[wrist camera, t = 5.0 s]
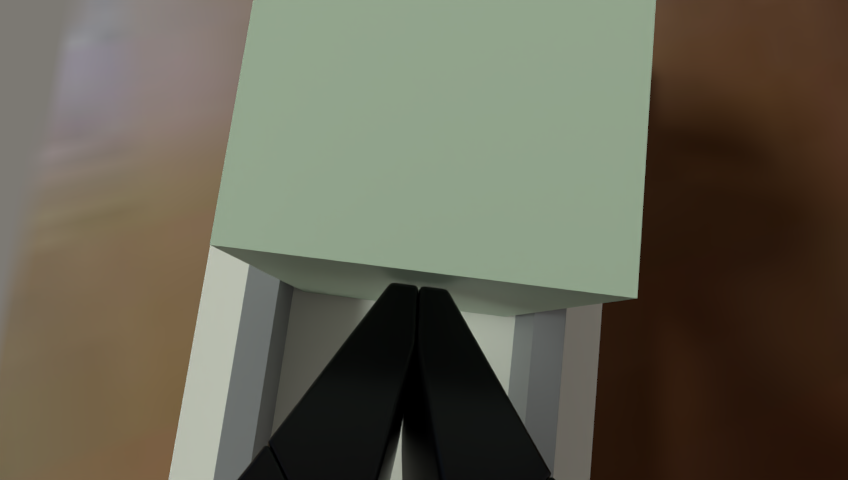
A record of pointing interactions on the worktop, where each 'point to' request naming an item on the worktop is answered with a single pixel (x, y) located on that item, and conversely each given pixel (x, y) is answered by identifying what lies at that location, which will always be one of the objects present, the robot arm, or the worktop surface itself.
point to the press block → (443, 149)
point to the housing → (323, 336)
